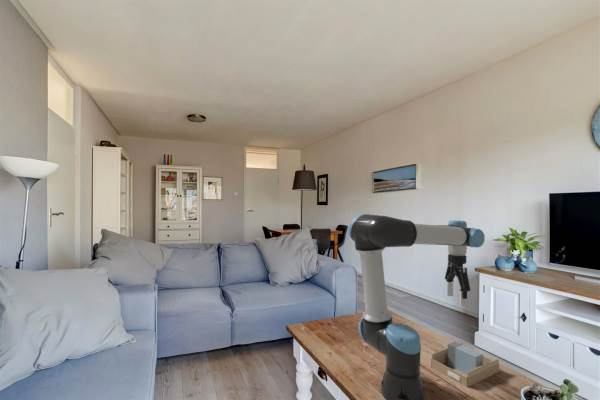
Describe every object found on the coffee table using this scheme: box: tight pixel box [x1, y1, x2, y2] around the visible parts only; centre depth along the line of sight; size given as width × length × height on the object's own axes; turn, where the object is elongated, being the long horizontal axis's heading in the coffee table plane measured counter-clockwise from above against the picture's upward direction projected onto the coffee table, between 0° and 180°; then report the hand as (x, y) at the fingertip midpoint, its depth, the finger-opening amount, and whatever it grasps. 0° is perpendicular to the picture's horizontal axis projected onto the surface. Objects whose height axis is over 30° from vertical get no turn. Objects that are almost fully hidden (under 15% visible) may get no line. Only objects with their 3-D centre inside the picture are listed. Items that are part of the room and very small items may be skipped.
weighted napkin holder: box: [447, 341, 484, 375], centre depth 125 cm, size 5×12×9 cm, turn 29°
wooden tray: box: [430, 342, 500, 388], centre depth 125 cm, size 22×16×6 cm
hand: (456, 300), depth 138 cm, fingers open, 13 cm apart
